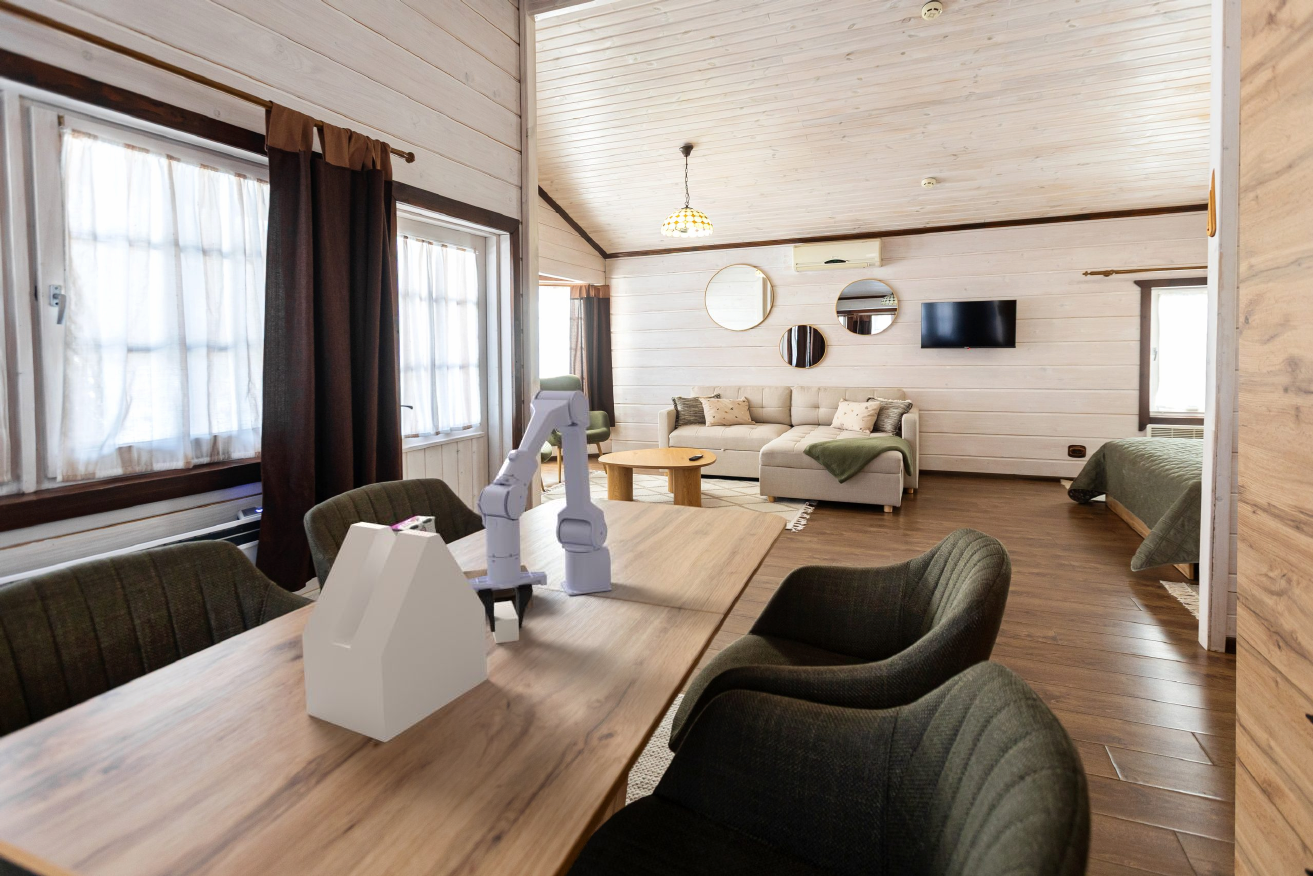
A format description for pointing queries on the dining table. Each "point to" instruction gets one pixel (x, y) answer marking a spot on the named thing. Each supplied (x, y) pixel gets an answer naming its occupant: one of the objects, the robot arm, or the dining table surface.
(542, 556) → the dining table surface
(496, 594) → the cubby
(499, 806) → the dining table surface
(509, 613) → the block
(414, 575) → the white tapered slotted holder
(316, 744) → the dining table surface
